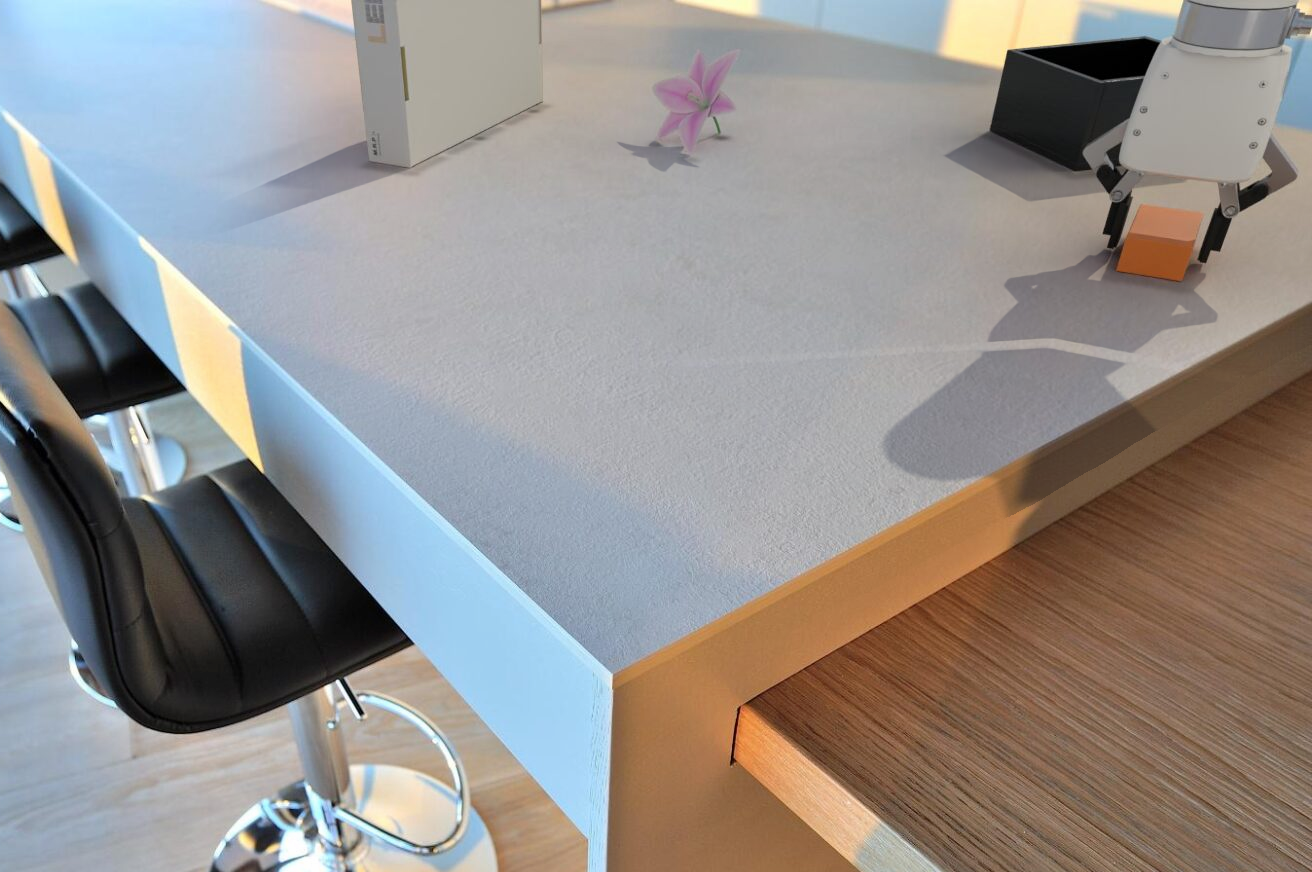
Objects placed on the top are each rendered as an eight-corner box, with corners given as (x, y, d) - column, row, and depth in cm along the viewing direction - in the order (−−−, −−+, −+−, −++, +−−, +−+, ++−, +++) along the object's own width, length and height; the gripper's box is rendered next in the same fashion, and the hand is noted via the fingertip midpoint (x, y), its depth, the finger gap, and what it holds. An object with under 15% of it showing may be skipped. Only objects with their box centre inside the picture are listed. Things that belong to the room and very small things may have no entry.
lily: (650, 132, 133) (627, 68, 125) (741, 88, 131) (723, 20, 123) (678, 192, 126) (655, 128, 118) (774, 147, 124) (757, 78, 116)
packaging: (504, 96, 145) (498, -73, 133) (543, 101, 142) (541, -71, 131) (367, 161, 124) (346, -33, 113) (411, 168, 122) (393, -30, 110)
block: (1130, 236, 98) (1140, 203, 96) (1192, 245, 96) (1204, 212, 94) (1115, 271, 92) (1126, 237, 90) (1181, 281, 90) (1193, 247, 88)
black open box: (1122, 115, 128) (1145, 35, 123) (1220, 153, 116) (1250, 66, 111) (989, 130, 125) (1007, 49, 120) (1075, 171, 113) (1099, 82, 108)
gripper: (1365, 25, 82) (1275, 253, 92) (1115, 9, 90) (1058, 220, 100) (1366, 46, 77) (1270, 284, 87) (1100, 27, 84) (1042, 248, 95)
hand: (1157, 248), depth 94 cm, fingers open, 6 cm apart
